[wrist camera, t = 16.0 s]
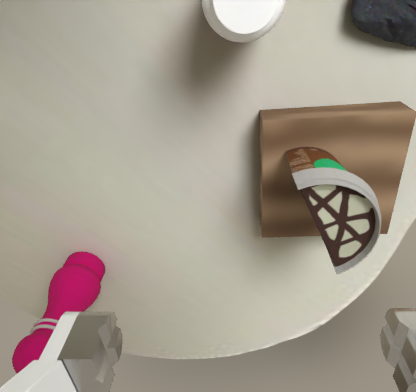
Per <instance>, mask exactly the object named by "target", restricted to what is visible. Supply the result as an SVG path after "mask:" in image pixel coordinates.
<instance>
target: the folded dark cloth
mask: <svg viewBox="0 0 416 392" xmlns="http://www.w3.org/2000/svg"><path fill="white" fill-rule="evenodd" d="M351 20H352V22H353V23H354V24H355V25H356V26H357V27H358V28H359V29H360V30H362V31H364V32H366V33H370V34H372V35H374V36H378V37H380V38H382V39H384V40H385V41H390V42H400V43H403V44H404V45H407V46H411V47H413V46H414V47H416V0H353V7H352V17H351Z"/></svg>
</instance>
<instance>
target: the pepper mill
mask: <svg viewBox="0 0 416 392" xmlns="http://www.w3.org/2000/svg"><path fill="white" fill-rule="evenodd" d="M104 273H105V266H104V264H103V262H102V261H101V260H100V259H99V258H98V257H97V256H95V255H93V254H91V253H88V252H76V253H74V254H72V255H70V256H69V257H68V259H67V260H66V262H65V264H64V266H63V267H62V268H61V269H59V270H58V271H57V272H56V273H55V274H54V276H53V278H52V280H51V282H50V287H49V294H48V306H47V310H46V312H45V314H44V316H43V318H42V319H40V320H38V321H37V322H36V323H35V324H34V326H33V328H32V329H31V331H30V335H29V336H26V337H25V338H23V339H22V340H21V341H20V342H19V344H18V345H17V347H16V349H15V351H14V354H13V358H12V363H13V367H14V369H15V371H16V373H19V372H20V371H21V370H22V369H24V368H25V367H26V366H27V365H28V364H30V363H31V362H32V361H33V360H39V358H40V356H41V354H42V352H43V350H44V348H45V346H46V344H47V342H48V341H49V339H50V337H51V335H52V333H53V331H54V329H55V327H56V325H57V323H58V321H59V319H60V317H61V316H62V315H63V314H64V313H65V312H84V311H85V310H86V309H87V308H88V307H90V306H91V305H92V304H93V302H94V301H95V300H96V298H97V297H98V295H99V293H100V288H101V286H100V282H101V280H102V278H103V275H104Z"/></svg>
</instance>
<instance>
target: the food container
mask: <svg viewBox="0 0 416 392" xmlns="http://www.w3.org/2000/svg"><path fill="white" fill-rule="evenodd" d="M286 154H287V158H288V161H289V164H290V167H291V170H292V175H293V178H294V181H295V183H296V186H297V188H298V190H300V191H301V193H302V195H303V198H304V199H305V201H306V203H307V206H308V208H309V210H310V212H311V215H312V216H313V219H314V221H315V223H316V227H317V228H318V230H319V232H320V234H321V236H322V239H323V241H324V243H325V245H326V248H327V250H328V253H329V255H330V258H331V261H332V263H333V266H334V268H335V271H336V274H340V273H342V272H345V271H347V270H349V269H351V268H353V267H354V266H356V265H357V264H359V263H360V262H361V261H362V260H363V259H365V258H366V257H367V256H368V254H369V253H370V252H371V251H372V249H373V248H374V246H375V245H376V243H377V240H378V238H379V234H380V230H381V213H380V208H379V204H378V201H377V198H376V196H375V193H374V191H373V190H372V189H371V187H370V186H369V185H368V184H367V183H366V182H365V181H364V180H362V179H361V178H359V177H358V176H356V175H354V174H352V173H350V172H347V171H346V169H345V168H344V167H343V166H342V165H341V164H340V162H339V161H338V160H337V159H336V158H335V157H334V156H333V155H332V154H331V153H329V152H327V151H325V150H323V149H320V148H316V147H298V148H294V149H291V150H288V151H286Z"/></svg>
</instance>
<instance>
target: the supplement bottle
mask: <svg viewBox="0 0 416 392" xmlns="http://www.w3.org/2000/svg"><path fill="white" fill-rule="evenodd" d="M285 1H286V0H201V2H202V8H203V12H204V15H205V17H206V19H207V21H208V23H209V25H210V26H211V27H212V29H213V30H214V31H215V32H216V33H217V34H219V35H220V36H221V37H223V38H225V39H227V40H229V41H233V42H239V43H243V42H250V41H254V40H256V39H258V38H260V37H262V36H264V35H265V34H266V33H268V32H269V31H270V30H271V29H272V28H273V27H274V26H275V24H276V23H277V21H278V20H279V18H280V16H281V14H282V12H283V9H284V6H285Z"/></svg>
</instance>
